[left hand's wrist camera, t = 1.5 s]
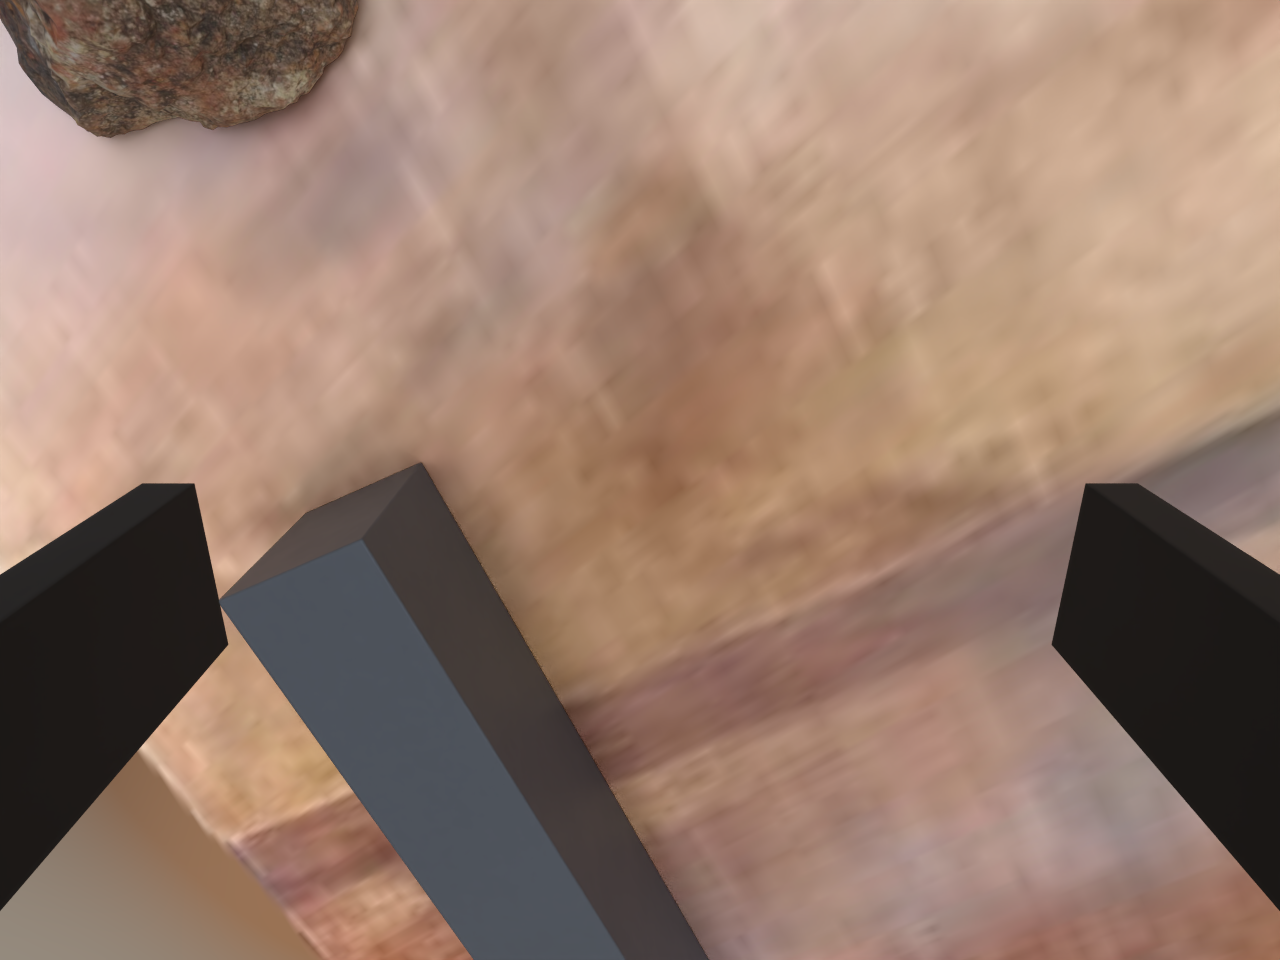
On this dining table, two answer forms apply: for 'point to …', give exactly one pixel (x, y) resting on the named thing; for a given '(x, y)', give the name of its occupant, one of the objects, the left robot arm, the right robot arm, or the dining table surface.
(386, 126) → the dining table surface
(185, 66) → the rock
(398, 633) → the beam
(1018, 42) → the dining table surface
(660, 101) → the dining table surface
